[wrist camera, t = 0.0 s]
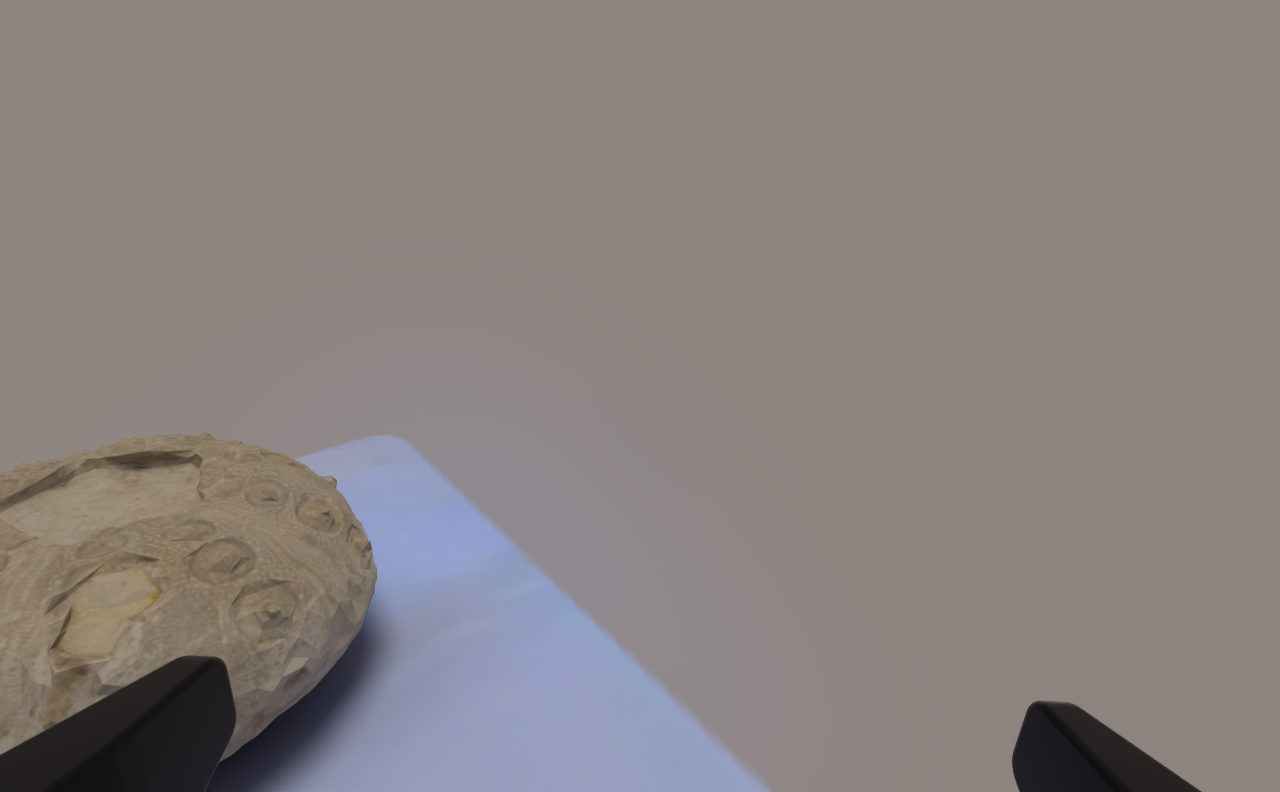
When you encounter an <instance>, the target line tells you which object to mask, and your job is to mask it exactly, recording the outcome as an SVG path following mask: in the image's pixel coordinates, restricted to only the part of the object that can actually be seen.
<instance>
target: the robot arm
mask: <svg viewBox="0 0 1280 792" xmlns="http://www.w3.org/2000/svg"><path fill="white" fill-rule="evenodd" d="M236 717H237V713H236V706H235V702H234V697H233V693H232V688H231V683H230V679H229V674H228V669H227V666H226V663H225V662H224V661H223V660H222V659H221V658H218V657H214V656H195V655H187V656H181V657H178V658H176V659H174V660H172V661H170V662H169V663H167V664H165V665H163V666H161V667H159V668H158V669H156V670H154V671H152V672H150V673H148V674H147V675H145V676H143V677H141V678H139V679H138V680H136V681H134V682H132V683H130V684H128V685H127V686H125V687H123V688H121V689H119V690H117V691H116V692H114V693H112V694H110V695H108V696H106V697H105V698H103V699H101V700H99V701H97V702H96V703H94V704H92V705H90V706H88V707H86V708H85V709H83V710H81V711H79V712H77V713H75V714H74V715H72V716H70V717H68V718H66V719H64V720H63V721H61V722H59V723H57V724H55V725H54V726H52V727H50V728H48V729H46V730H44V731H43V732H41V733H39V734H37V735H35V736H33V737H32V738H30V739H28V740H26V741H24V742H22V743H21V744H19V745H17V746H15V747H13V748H12V749H10V750H8V751H6V752H4V753H2V754H1V755H0V792H205V790H206V788H207V786H208V784H209V782H210V780H211V778H212V776H213V774H214V772H215V770H216V768H217V766H218V764H219V762H220V760H221V758H222V756H223V754H224V752H225V750H226V748H227V746H228V743H229V741H230V739H231V737H232V735H233V732H234V729H235V725H236ZM1012 767H1013V773H1014V777H1015V781H1016V783H1017V786H1018V789H1019V791H1020V792H1201V791H1200V790H1198V789H1197V788H1196V787H1194V786H1193V785H1191V784H1190V783H1188V782H1187V781H1185V780H1184V779H1183V778H1181V777H1180V776H1178V775H1177V774H1175V773H1174V772H1172V771H1171V770H1169V769H1168V768H1167V767H1165V766H1164V765H1162V764H1161V763H1159V762H1158V761H1156V760H1155V759H1154V758H1152V757H1151V756H1149V755H1148V754H1146V753H1145V752H1143V751H1142V750H1141V749H1139V748H1138V747H1136V746H1135V745H1133V744H1132V743H1130V742H1129V741H1127V740H1126V739H1124V738H1123V737H1122V736H1120V735H1119V734H1117V733H1116V732H1115V731H1113V730H1112V729H1110V728H1109V727H1107V726H1106V725H1104V724H1103V723H1101V722H1100V721H1099V720H1097V719H1096V718H1094V717H1093V716H1091V715H1090V714H1088V713H1087V712H1086V711H1084V710H1083V709H1081V708H1080V707H1078V706H1076V705H1074V704H1071V703H1067V702H1052V701H1036V702H1034V703H1032V704H1031V705H1030V706H1029V707H1028V709H1027V712H1026V715H1025V718H1024V721H1023V724H1022V727H1021V730H1020V733H1019V736H1018V739H1017V742H1016V745H1015V748H1014V751H1013V756H1012Z"/></svg>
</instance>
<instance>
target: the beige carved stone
mask: <svg viewBox="0 0 1280 792" xmlns="http://www.w3.org/2000/svg"><path fill="white" fill-rule="evenodd" d="M336 486H337V480H336V479H335V478H334V477H332V476H327V477H323V476H319V475H317V474H315V473H314V472H313V471H311V470H310V469H309V468H308V467H307V466H306V465H304V464H302V463H300V462H298V461H296V460H294V459H292V458H290V457H288V456H286V455H284V454H281V453H278V452H273V451H270V450H267V449H264V448H262V447H259V446H254V445H245V444H242V442H241V441H224V440H217V439H215V438H214V437H213V436H212V435H211V434H209V433H208V432H204V433H202V434H200V435H198V436H190V435H182V434H175V435H174V434H173V435H156V436H151V437H147V438H143V439H139V438H137V437H133V438H130V439H122V440H121V441H120V442H119V443H114V444H108V445H106V446H103V447H101V448H99V449H97V450H95V451H87V450H83V451H80V452H76V453H73V454H71V455H70V456H68V457H67V458H60V459H52V460H48V461H45V462H43V463H42V462H39V461H37V462H36V463H34V464H33V465H30V464H24V463H21V464H19V465H18V466H17V467H15V468H14V469H13V470H11V471H8V472H4V473H0V755H1V754H2V753H4V752H6V751H8V750H10V749H12V748H13V747H15V746H17V745H19V744H21V743H22V742H24V741H26V740H28V739H30V738H32V737H33V736H35V735H37V734H39V733H41V732H43V731H44V730H46V729H48V728H50V727H52V726H54V725H55V724H57V723H59V722H61V721H63V720H64V719H66V718H68V717H70V716H72V715H74V714H75V713H77V712H79V711H81V710H83V709H85V708H86V707H88V706H90V705H92V704H94V703H96V702H97V701H99V700H101V699H103V698H105V697H106V696H108V695H110V694H112V693H114V692H116V691H117V690H119V689H121V688H123V687H125V686H127V685H128V684H130V683H132V682H134V681H136V680H138V679H139V678H141V677H143V676H145V675H147V674H148V673H150V672H152V671H154V670H156V669H158V668H159V667H161V666H163V665H165V664H167V663H169V662H170V661H172V660H174V659H176V658H178V657H181V656H187V655H195V656H214V657H218V658H221V659H222V660H223V661H224V662H225V663H226V666H227V669H228V674H229V679H230V683H231V688H232V693H233V697H234V702H235V706H236V713H237V717H236V725H235V729H234V732H233V735H232V737H231V739H230V741H229V743H228V746H227V748H226V750H225V752H224V754H223V756H222V758H221V760H220V762H221V761H222V760H224V759H226V758H227V757H229V756H231V755H232V754H234V753H235V752H236V751H237V750H238V749H239V748H241V747H242V746H243V745H244V744H245V743H247V742H248V741H250V740H252V739H253V738H255V737H256V736H257V735H258V734H260V733H261V732H262V731H263V730H264V729H265V728H266V727H267V726H268V725H269V724H270V723H271V722H272V721H273V720H274V719H275V718H276V717H277V716H279V715H280V714H281V713H283V712H284V711H286V710H287V709H289V708H290V707H291V706H293V705H294V704H296V703H297V702H298V701H299V700H300V699H301V698H302V697H303V696H305V695H306V694H308V693H309V692H310V691H312V689H313V688H314V687H315V686H316V685H317V684H318V683H319V682H320V681H321V680H322V678H323V677H324V676H325V675H326V674H327V673H328V672H329V671H330V669H331V668H332V667H333V666H334V664H335V663H336V662H337V661H338V659H339V658H341V657H342V655H343V654H344V653H345V651H346V650H347V648H348V646H349V645H350V643H351V642H352V641H353V639H354V638H355V636H356V635H357V634H358V632H359V631H360V629H361V628H362V625H363V621H364V618H365V615H366V612H367V609H368V606H369V604H370V602H371V599H372V596H373V593H374V590H375V583H376V579H377V568H376V566H375V564H374V560H373V554H372V547H371V544H370V541H368V538H367V535H366V533H365V530H364V528H363V526H362V523H361V522H360V521H359V520H358V519H357V518H356V517H355V515H354V513H353V512H352V510H351V508H350V506H349V504H348V503H347V501H346V499H345V498H344V496H343V495H342V494H341V493H340V492H339V491H337V490H336Z"/></svg>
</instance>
